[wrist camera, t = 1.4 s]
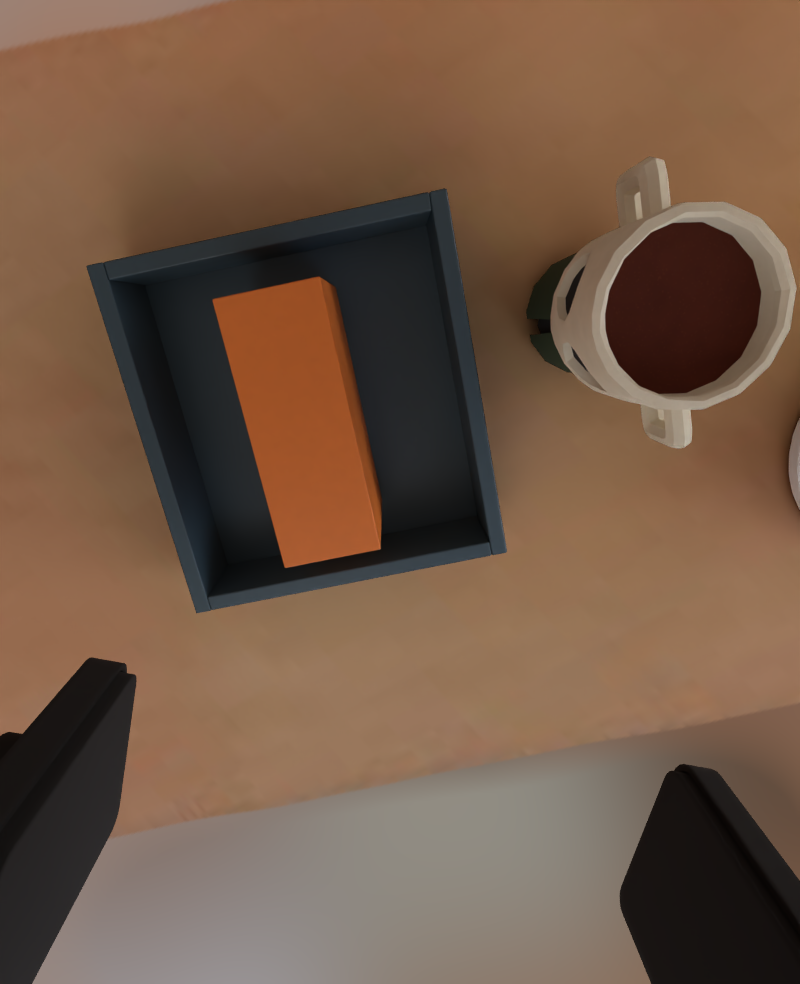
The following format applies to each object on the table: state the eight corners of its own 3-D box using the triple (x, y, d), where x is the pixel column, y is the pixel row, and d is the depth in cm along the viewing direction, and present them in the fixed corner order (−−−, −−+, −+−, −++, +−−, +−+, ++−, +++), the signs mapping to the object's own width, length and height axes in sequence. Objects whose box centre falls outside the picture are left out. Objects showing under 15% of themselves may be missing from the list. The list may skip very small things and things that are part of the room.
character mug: (499, 223, 33) (569, 163, 20) (634, 192, 32) (790, 111, 20) (533, 425, 36) (611, 482, 23) (657, 398, 35) (805, 440, 23)
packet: (335, 286, 33) (319, 275, 25) (382, 500, 36) (380, 549, 28) (252, 303, 33) (211, 299, 25) (306, 515, 36) (284, 568, 28)
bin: (437, 207, 32) (446, 187, 28) (491, 522, 37) (507, 552, 32) (129, 273, 33) (85, 265, 28) (220, 576, 38) (196, 613, 33)
